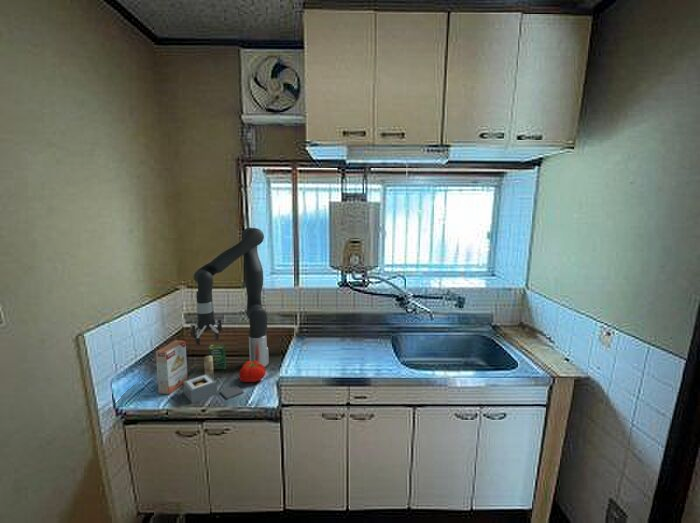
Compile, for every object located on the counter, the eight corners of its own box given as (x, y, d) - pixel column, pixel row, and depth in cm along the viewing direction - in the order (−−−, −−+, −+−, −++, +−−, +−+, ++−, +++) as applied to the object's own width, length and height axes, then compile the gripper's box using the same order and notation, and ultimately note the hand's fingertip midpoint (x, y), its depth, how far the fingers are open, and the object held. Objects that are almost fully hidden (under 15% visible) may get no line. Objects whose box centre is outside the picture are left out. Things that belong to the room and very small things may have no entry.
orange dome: (203, 386, 156) (202, 381, 156) (206, 389, 153) (205, 384, 153) (194, 389, 154) (193, 384, 153) (197, 392, 151) (196, 388, 150)
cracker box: (170, 395, 152) (166, 352, 149) (158, 394, 153) (154, 351, 150) (188, 379, 166) (186, 340, 163) (177, 378, 167) (174, 339, 164)
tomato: (258, 388, 159) (257, 371, 157) (234, 385, 161) (233, 368, 160) (270, 374, 172) (270, 358, 171) (248, 372, 175) (248, 356, 173)
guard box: (207, 384, 161) (207, 373, 161) (217, 394, 154) (216, 382, 153) (183, 393, 154) (183, 381, 153) (192, 403, 146) (191, 390, 145)
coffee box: (209, 369, 177) (208, 346, 175) (211, 366, 180) (210, 344, 178) (224, 369, 177) (223, 346, 175) (226, 367, 180) (225, 344, 177)
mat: (236, 386, 160) (236, 384, 160) (243, 392, 155) (243, 391, 155) (219, 392, 155) (219, 390, 155) (227, 399, 149) (227, 397, 149)
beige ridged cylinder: (212, 376, 169) (210, 354, 167) (215, 379, 166) (213, 357, 164) (204, 379, 166) (202, 357, 165) (207, 382, 164) (205, 359, 162)
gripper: (216, 306, 168) (218, 336, 171) (187, 311, 159) (189, 344, 161) (223, 309, 163) (224, 340, 165) (192, 315, 153) (195, 348, 156)
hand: (207, 342), depth 163 cm, fingers open, 8 cm apart
